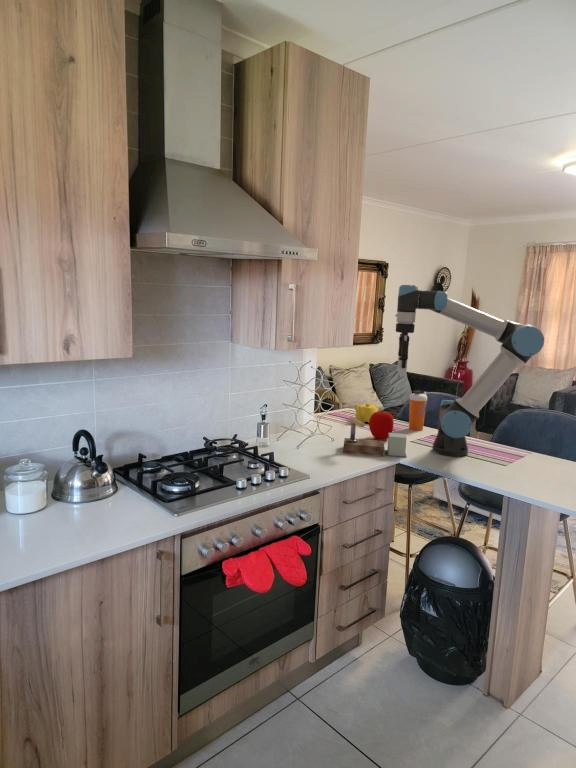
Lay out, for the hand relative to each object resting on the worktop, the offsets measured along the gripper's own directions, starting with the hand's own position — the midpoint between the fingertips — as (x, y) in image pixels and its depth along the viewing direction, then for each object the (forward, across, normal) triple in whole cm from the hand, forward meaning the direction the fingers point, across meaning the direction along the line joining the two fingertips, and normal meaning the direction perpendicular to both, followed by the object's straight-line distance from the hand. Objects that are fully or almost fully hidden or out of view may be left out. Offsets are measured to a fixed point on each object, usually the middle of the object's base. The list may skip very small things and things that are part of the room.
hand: (401, 373), depth 222 cm
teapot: (+35, -60, -12) cm, 70 cm away
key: (+30, +3, -17) cm, 35 cm away
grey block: (+34, 0, 0) cm, 34 cm away
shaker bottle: (+35, -51, +14) cm, 63 cm away
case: (+35, 0, -14) cm, 37 cm away
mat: (+35, 0, 0) cm, 35 cm away
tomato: (+35, -24, -6) cm, 43 cm away
